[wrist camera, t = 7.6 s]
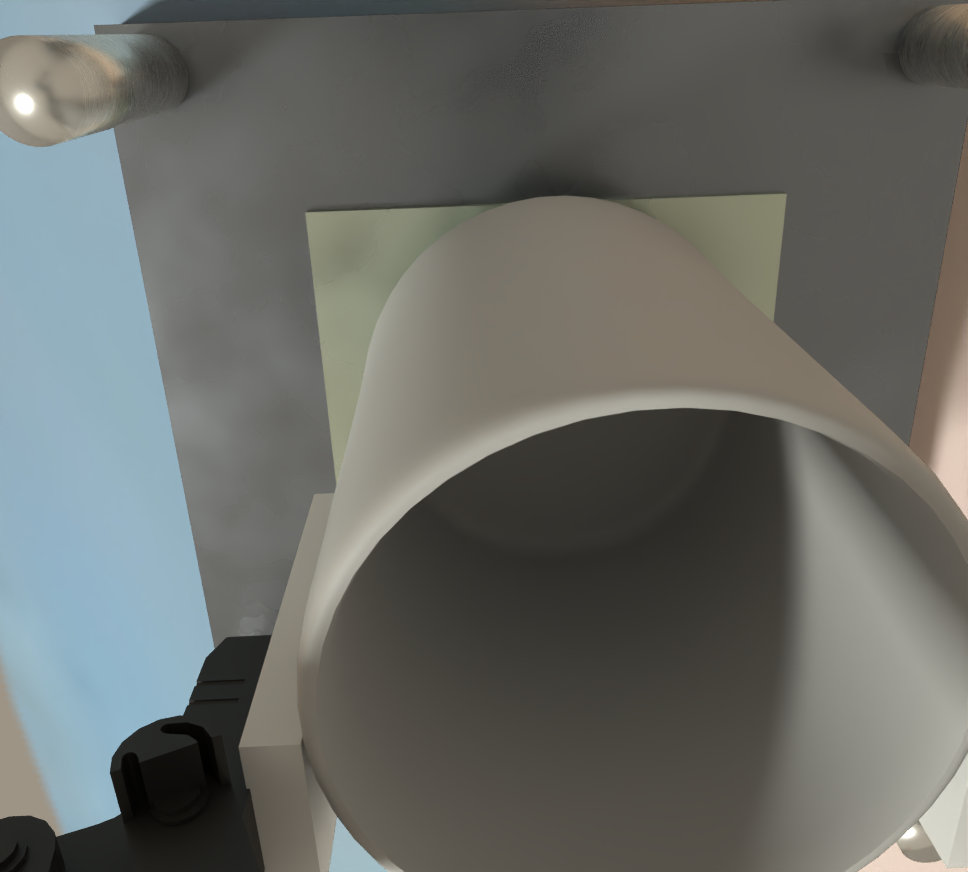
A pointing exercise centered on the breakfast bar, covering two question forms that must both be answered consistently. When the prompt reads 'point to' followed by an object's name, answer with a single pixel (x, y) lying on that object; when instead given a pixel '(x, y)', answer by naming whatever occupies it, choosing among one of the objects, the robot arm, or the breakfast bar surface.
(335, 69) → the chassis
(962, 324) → the breakfast bar surface
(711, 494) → the mug
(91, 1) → the breakfast bar surface
